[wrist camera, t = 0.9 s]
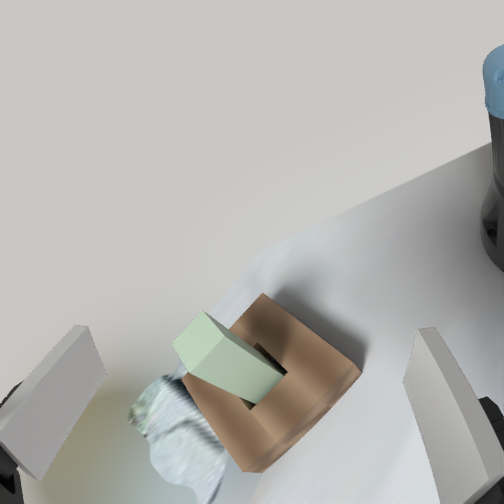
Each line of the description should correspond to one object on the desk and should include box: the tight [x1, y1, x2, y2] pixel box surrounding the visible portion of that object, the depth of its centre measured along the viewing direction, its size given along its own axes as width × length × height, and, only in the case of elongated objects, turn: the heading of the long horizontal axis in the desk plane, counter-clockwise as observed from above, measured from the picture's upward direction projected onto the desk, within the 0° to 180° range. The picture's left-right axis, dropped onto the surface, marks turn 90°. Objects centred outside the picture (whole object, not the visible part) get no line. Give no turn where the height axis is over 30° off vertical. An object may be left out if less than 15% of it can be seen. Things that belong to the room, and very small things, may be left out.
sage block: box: [172, 310, 286, 404], centre depth 31 cm, size 4×4×14 cm
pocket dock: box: [182, 293, 362, 473], centre depth 34 cm, size 16×16×4 cm
